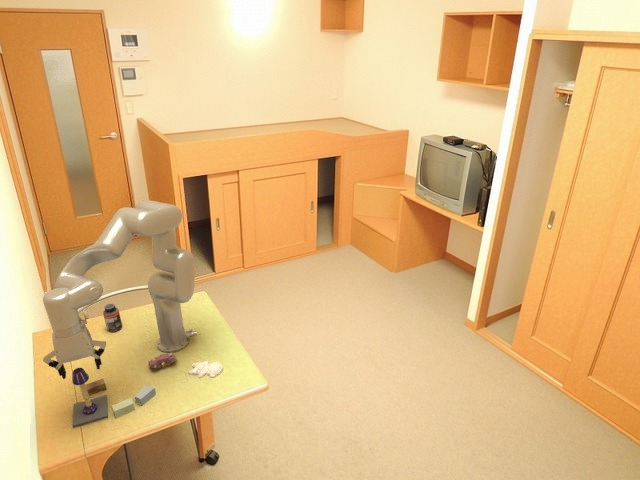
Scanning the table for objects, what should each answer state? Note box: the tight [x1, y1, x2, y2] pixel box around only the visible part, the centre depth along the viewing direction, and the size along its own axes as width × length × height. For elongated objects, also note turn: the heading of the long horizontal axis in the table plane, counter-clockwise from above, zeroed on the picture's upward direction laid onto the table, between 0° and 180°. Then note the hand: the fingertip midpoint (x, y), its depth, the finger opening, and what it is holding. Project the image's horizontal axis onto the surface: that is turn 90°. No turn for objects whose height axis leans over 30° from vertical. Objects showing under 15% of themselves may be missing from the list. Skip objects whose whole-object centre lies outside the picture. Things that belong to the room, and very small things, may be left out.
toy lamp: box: [71, 367, 97, 415], centre depth 141 cm, size 5×5×17 cm
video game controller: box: [147, 352, 177, 369], centre depth 164 cm, size 10×5×7 cm, turn 119°
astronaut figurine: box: [188, 360, 224, 379], centre depth 163 cm, size 9×12×3 cm
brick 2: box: [111, 397, 136, 419], centre depth 145 cm, size 6×3×3 cm, turn 127°
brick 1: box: [85, 378, 107, 397], centre depth 153 cm, size 6×3×3 cm, turn 125°
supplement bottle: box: [102, 303, 123, 333], centre depth 184 cm, size 6×6×11 cm
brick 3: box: [133, 384, 156, 406], centre depth 150 cm, size 6×3×3 cm, turn 152°
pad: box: [71, 394, 109, 429], centre depth 145 cm, size 10×10×1 cm
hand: (81, 371), depth 139 cm, fingers open, 9 cm apart
